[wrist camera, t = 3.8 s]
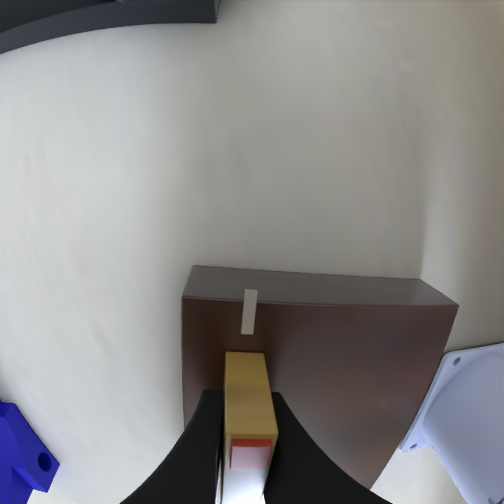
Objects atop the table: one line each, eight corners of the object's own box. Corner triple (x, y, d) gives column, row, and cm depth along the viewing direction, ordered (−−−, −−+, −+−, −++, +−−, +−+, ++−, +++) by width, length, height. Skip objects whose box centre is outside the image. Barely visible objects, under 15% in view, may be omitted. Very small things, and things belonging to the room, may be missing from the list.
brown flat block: (347, 472, 16) (359, 506, 13) (194, 477, 15) (192, 517, 12) (422, 271, 13) (464, 297, 10) (193, 255, 12) (180, 286, 9)
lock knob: (250, 442, 11) (258, 519, 7) (220, 441, 10) (219, 519, 7) (263, 352, 9) (280, 440, 6) (225, 350, 9) (225, 440, 6)
